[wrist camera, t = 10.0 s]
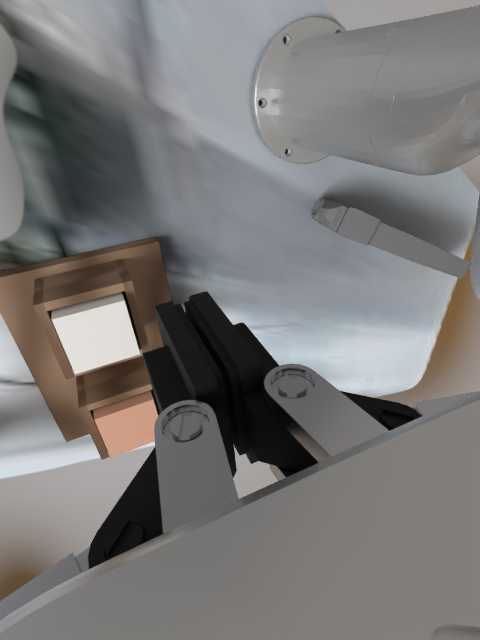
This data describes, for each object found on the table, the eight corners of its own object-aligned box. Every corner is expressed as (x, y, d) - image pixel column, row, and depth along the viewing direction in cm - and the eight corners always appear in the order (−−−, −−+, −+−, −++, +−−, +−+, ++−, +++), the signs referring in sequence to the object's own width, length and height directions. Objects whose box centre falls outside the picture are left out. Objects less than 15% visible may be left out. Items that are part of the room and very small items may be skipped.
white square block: (116, 277, 37) (124, 300, 33) (131, 328, 40) (140, 354, 36) (51, 293, 35) (51, 319, 31) (72, 345, 39) (75, 374, 35)
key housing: (155, 236, 40) (172, 260, 34) (188, 390, 52) (205, 426, 46) (-14, 274, 35) (-26, 309, 30) (65, 433, 47) (68, 478, 42)
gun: (301, 187, 54) (329, 196, 40) (447, 249, 58) (517, 277, 44) (291, 209, 55) (316, 225, 41) (435, 268, 59) (501, 301, 45)
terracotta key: (144, 371, 44) (153, 399, 40) (154, 408, 47) (164, 437, 43) (90, 388, 42) (94, 419, 38) (105, 425, 45) (110, 457, 41)
